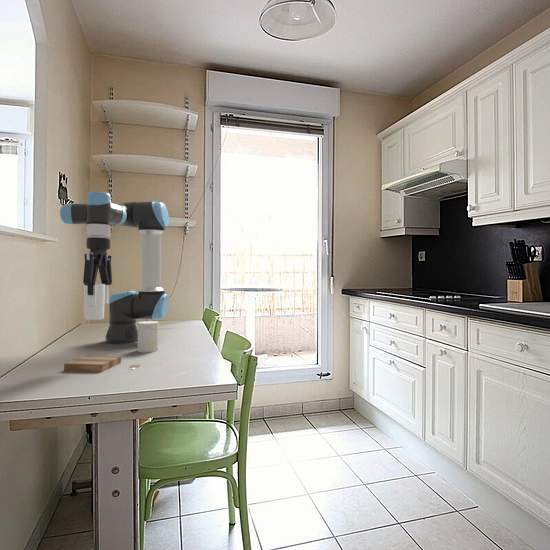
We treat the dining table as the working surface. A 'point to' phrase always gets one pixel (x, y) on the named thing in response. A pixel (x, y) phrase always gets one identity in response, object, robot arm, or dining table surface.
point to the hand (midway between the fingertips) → (98, 304)
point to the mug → (96, 310)
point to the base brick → (92, 364)
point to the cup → (148, 336)
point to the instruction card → (131, 367)
